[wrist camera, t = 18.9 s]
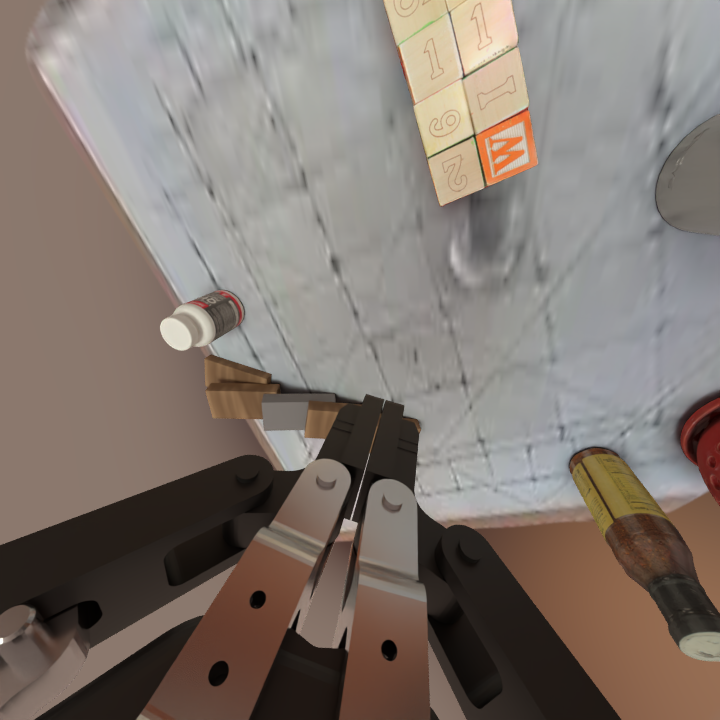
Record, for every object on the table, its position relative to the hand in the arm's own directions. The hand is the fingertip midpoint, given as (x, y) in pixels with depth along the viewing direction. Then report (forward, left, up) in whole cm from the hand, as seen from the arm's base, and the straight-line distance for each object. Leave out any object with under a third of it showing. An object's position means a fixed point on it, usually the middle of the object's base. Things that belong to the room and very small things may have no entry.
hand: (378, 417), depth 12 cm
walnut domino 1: (+17, +22, -27) cm, 38 cm away
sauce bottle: (-29, +18, -27) cm, 44 cm away
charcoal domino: (+6, +22, -26) cm, 35 cm away
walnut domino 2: (+14, +23, -25) cm, 37 cm away
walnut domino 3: (0, +22, -26) cm, 34 cm away
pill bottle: (+24, +11, -27) cm, 38 cm away
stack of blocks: (+3, -18, -27) cm, 33 cm away
